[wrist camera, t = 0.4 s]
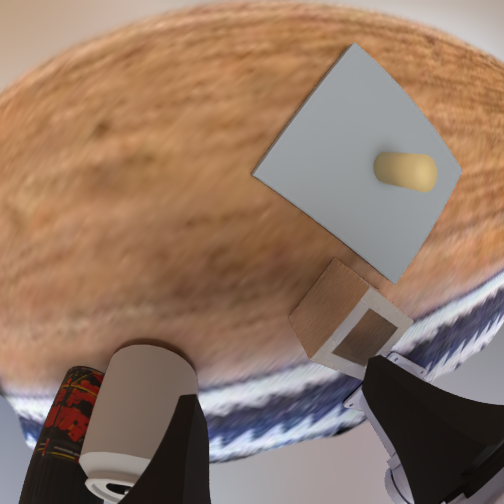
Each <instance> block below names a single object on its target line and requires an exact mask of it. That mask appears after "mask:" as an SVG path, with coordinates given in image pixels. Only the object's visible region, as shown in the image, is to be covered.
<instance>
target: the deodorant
mask: <svg viewBox="0 0 504 504" xmlns="http://www.w3.org/2000/svg"><path fill="white" fill-rule="evenodd" d="M104 376H105V374H103V373H101V372H99V371H97V370H95V369H92V368H89V367H83V366H77V367H73V368H71V369H69V371H68V372H67V374H66V376H65V378H64V380H63V382H62V384H61V386H60V388H59V390H58V393H57V395H56V397H55V399H54V401H53V404H52V406H51V408H50V411H49V413H48V415H47V418H46V420H45V423H44V425H43V428H42V430H41V433H40V435H39V438H38V441H37V444H36V446H35V449H34V452H33V455H32V458H31V461H30V464H29V467H28V470H27V474H26V477H25V481H24V484H23V488H22V492H21V496H20V500H19V504H103V503H104V500H103V499H101V498H100V497H98V496H96V495H95V494H93V493H92V492H91V491H90V490H89V489H88V488H87V486H86V485H85V482H86V480H87V479H88V476H87V475H86V473H85V472H84V470H83V468H82V467H81V465H80V463H79V459H80V455H81V451H82V447H83V443H84V440H85V436H86V432H87V429H88V425H89V422H90V419H91V415H92V412H93V409H94V406H95V403H96V400H97V397H98V394H99V391H100V388H101V385H102V382H103V379H104Z"/></svg>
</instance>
